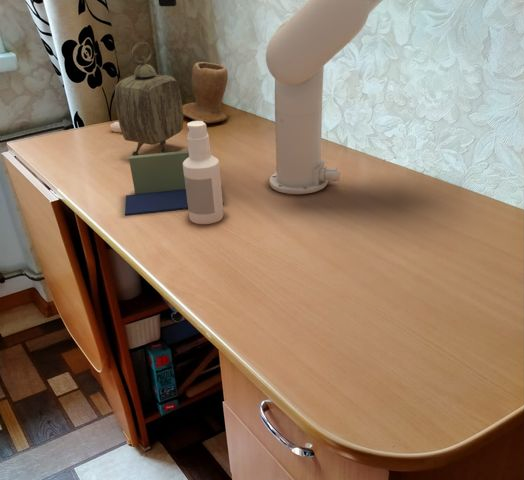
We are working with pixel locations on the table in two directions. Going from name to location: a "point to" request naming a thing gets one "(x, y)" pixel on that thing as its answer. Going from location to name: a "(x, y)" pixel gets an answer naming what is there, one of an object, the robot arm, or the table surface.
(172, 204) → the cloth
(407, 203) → the table surface
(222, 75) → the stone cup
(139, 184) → the backboard
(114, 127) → the sitting furry creature
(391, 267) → the table surface
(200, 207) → the white capped bottle
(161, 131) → the tabletop clock
